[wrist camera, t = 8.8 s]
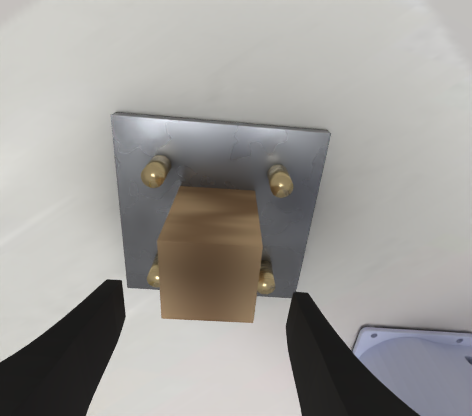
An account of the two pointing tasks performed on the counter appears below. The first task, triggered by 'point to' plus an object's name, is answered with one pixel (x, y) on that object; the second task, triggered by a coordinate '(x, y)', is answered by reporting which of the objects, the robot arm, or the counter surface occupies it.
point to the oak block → (210, 255)
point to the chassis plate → (217, 186)
